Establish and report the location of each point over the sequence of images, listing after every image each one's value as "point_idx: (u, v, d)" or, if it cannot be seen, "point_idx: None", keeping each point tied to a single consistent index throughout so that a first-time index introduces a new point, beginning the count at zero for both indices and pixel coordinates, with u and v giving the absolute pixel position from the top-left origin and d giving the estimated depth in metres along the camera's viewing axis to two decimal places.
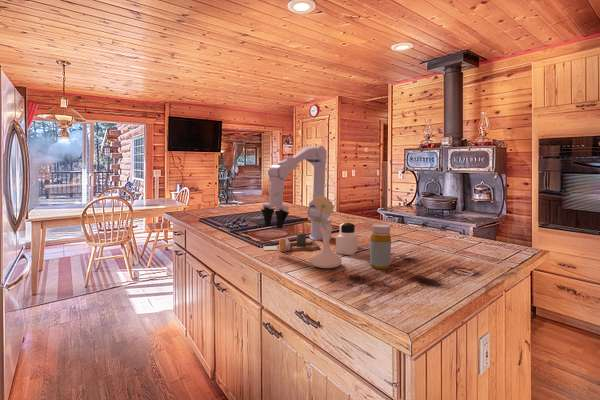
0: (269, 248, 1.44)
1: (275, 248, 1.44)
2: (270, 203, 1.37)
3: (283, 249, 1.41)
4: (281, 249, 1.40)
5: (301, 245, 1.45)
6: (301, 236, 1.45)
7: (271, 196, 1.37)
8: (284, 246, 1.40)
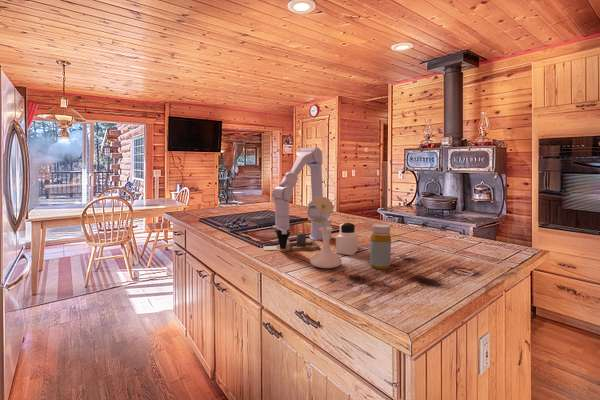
0: (269, 248, 1.44)
1: (275, 248, 1.44)
2: (275, 225, 1.40)
3: (283, 249, 1.41)
4: (281, 249, 1.40)
5: (301, 245, 1.45)
6: (301, 236, 1.45)
7: (275, 218, 1.39)
8: None
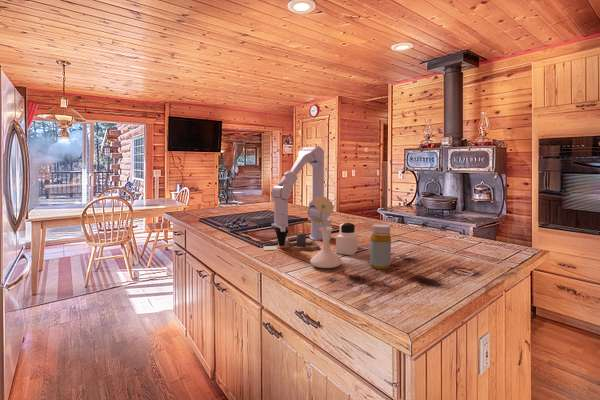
0: (269, 248, 1.44)
1: (275, 248, 1.44)
2: (274, 222, 1.44)
3: (282, 246, 1.45)
4: (280, 246, 1.45)
5: (301, 245, 1.45)
6: (301, 236, 1.45)
7: (274, 216, 1.44)
8: None
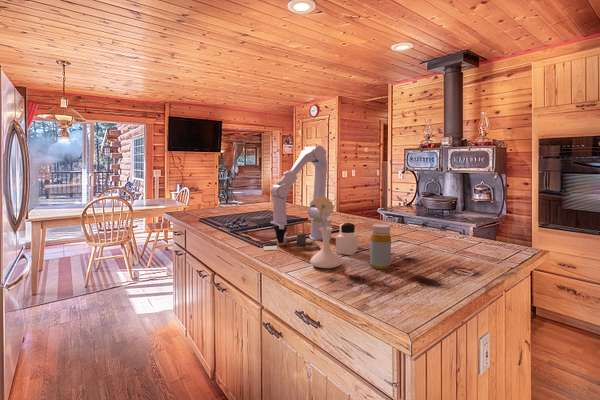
0: (269, 248, 1.44)
1: (275, 248, 1.44)
2: (273, 220, 1.49)
3: (280, 243, 1.50)
4: (279, 243, 1.50)
5: (301, 245, 1.45)
6: (301, 236, 1.45)
7: (273, 214, 1.48)
8: None
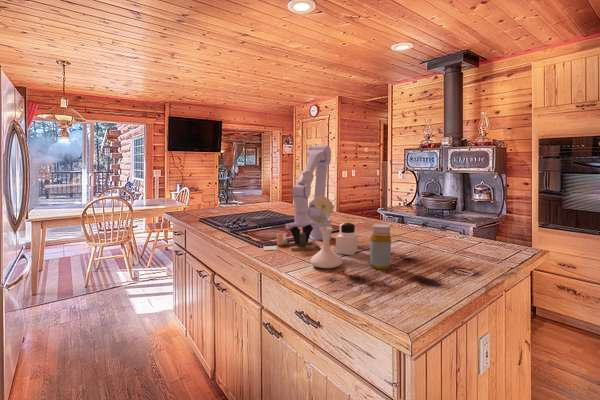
0: (269, 248, 1.44)
1: (275, 248, 1.44)
2: None
3: (280, 243, 1.50)
4: (279, 243, 1.50)
5: (301, 245, 1.45)
6: (301, 236, 1.45)
7: None
8: (281, 240, 1.50)
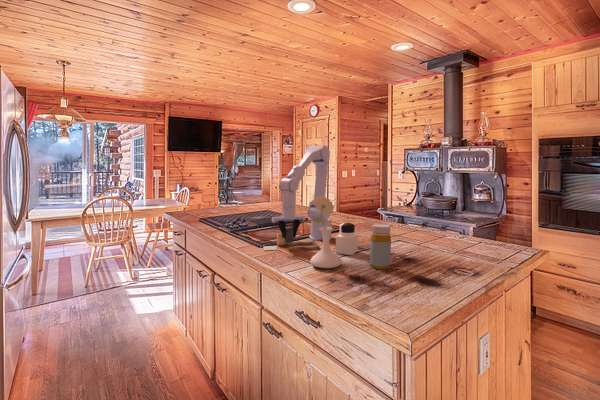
0: (269, 248, 1.44)
1: (275, 248, 1.44)
2: None
3: (280, 243, 1.50)
4: (279, 243, 1.50)
5: (287, 239, 1.44)
6: (287, 230, 1.44)
7: None
8: (281, 240, 1.50)
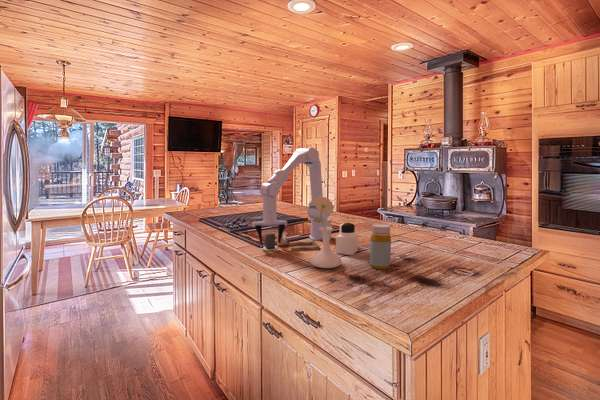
0: None
1: (275, 248, 1.44)
2: None
3: (280, 243, 1.50)
4: (279, 243, 1.50)
5: (268, 246, 1.43)
6: (268, 236, 1.43)
7: None
8: (281, 240, 1.50)
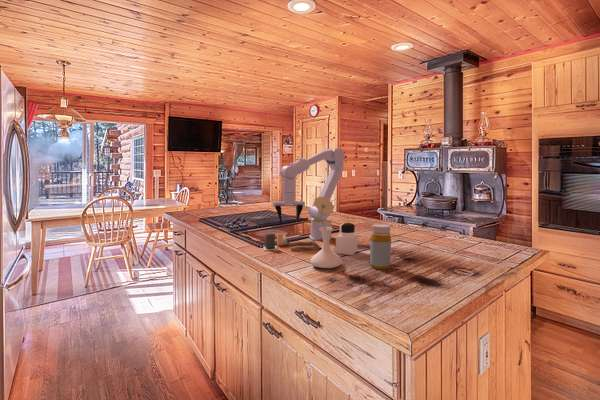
0: None
1: (275, 248, 1.44)
2: None
3: (280, 243, 1.50)
4: (279, 243, 1.50)
5: (268, 246, 1.43)
6: (268, 236, 1.43)
7: None
8: (281, 240, 1.50)
